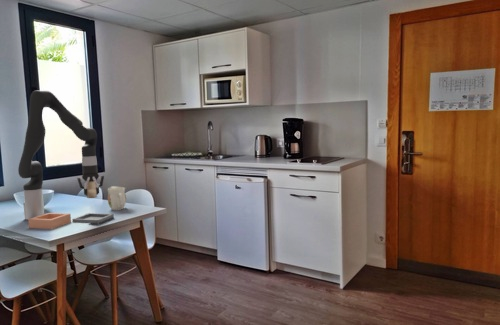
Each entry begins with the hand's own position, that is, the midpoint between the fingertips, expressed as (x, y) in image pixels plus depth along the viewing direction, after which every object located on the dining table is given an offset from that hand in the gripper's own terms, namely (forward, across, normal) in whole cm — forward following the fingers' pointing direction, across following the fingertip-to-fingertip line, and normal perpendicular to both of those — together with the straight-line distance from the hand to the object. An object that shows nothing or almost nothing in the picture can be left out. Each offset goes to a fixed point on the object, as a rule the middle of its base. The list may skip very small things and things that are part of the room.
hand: (91, 194), depth 207 cm
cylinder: (+1, 0, 0) cm, 1 cm away
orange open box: (+15, -21, +2) cm, 26 cm away
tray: (+15, 0, 0) cm, 15 cm away
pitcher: (+15, +18, +22) cm, 32 cm away
